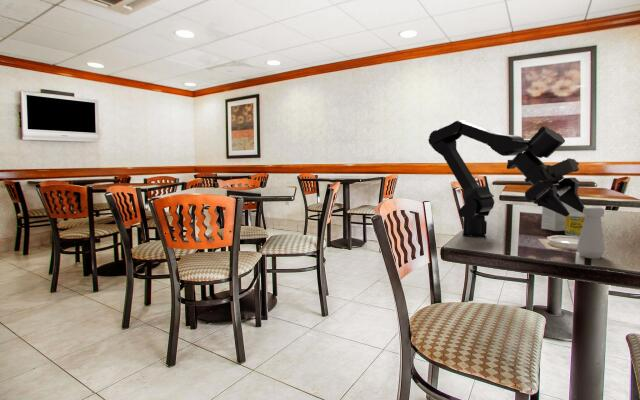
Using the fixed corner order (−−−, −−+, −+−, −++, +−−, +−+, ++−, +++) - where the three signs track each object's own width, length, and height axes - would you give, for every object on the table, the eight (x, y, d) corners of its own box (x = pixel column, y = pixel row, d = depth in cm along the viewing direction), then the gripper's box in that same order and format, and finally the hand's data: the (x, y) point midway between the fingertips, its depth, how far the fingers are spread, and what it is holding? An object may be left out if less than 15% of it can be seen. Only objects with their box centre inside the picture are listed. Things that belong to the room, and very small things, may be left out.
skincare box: (560, 227, 129) (562, 185, 127) (575, 230, 123) (578, 186, 121) (540, 229, 127) (542, 186, 125) (554, 232, 122) (557, 187, 120)
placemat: (546, 249, 101) (546, 248, 101) (537, 239, 112) (537, 238, 112) (608, 253, 96) (608, 252, 96) (592, 243, 107) (592, 241, 107)
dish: (552, 248, 101) (552, 242, 100) (543, 239, 111) (544, 234, 111) (600, 251, 97) (601, 245, 97) (587, 241, 107) (587, 236, 107)
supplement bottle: (581, 234, 119) (583, 204, 117) (587, 237, 114) (590, 206, 112) (562, 233, 120) (564, 204, 119) (567, 236, 115) (569, 206, 114)
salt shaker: (609, 261, 89) (613, 208, 88) (583, 260, 90) (586, 208, 89) (596, 255, 95) (600, 205, 93) (571, 254, 96) (575, 204, 94)
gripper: (539, 148, 92) (587, 196, 84) (573, 148, 102) (619, 190, 94) (507, 179, 99) (548, 225, 91) (542, 175, 109) (582, 216, 101)
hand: (576, 213), depth 94 cm, fingers open, 9 cm apart
